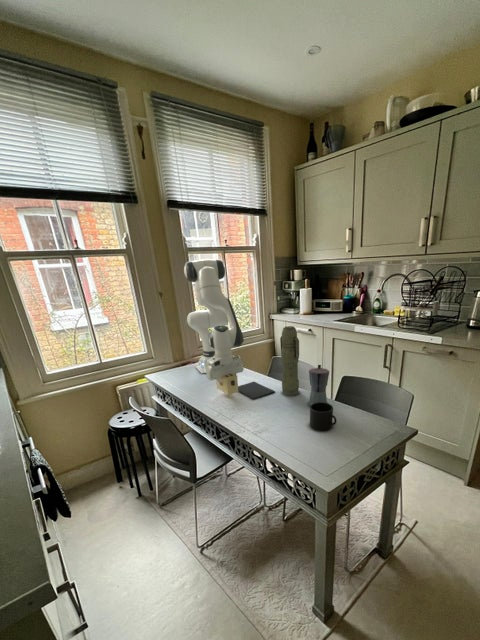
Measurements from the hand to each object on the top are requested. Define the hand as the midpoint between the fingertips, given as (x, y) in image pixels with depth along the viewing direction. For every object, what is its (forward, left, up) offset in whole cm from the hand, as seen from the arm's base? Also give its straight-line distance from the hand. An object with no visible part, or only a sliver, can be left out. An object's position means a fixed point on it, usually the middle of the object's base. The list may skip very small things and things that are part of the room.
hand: (226, 383), depth 168 cm
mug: (+58, +13, -7) cm, 60 cm away
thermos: (+20, +27, -7) cm, 34 cm away
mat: (+4, +14, -7) cm, 16 cm away
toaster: (0, 0, -4) cm, 4 cm away
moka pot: (+41, +27, -7) cm, 50 cm away
